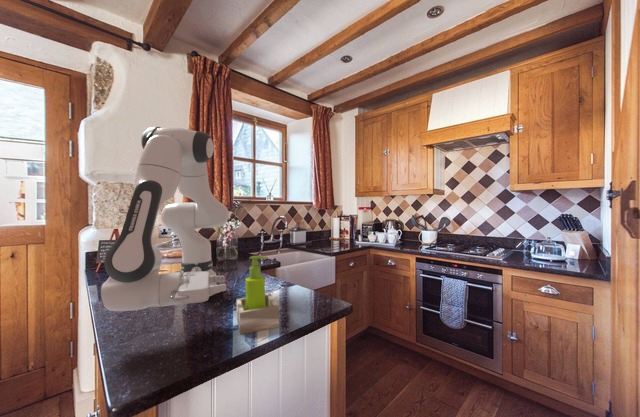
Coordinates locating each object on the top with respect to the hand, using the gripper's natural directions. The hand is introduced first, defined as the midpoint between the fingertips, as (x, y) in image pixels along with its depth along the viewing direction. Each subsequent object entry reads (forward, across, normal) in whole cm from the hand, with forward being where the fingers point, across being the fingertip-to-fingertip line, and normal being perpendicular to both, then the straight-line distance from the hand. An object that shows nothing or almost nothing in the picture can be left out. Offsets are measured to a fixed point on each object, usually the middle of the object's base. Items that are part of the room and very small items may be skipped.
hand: (225, 282), depth 79 cm
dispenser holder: (+9, 0, +14) cm, 17 cm away
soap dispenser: (+9, -1, +13) cm, 16 cm away
